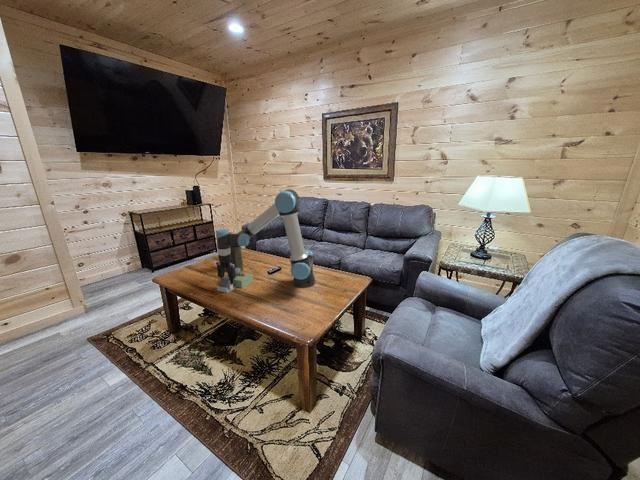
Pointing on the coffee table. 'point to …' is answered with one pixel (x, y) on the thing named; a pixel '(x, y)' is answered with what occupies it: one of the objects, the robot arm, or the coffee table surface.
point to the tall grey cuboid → (225, 282)
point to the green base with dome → (238, 280)
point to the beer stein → (236, 256)
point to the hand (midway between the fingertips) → (227, 287)
